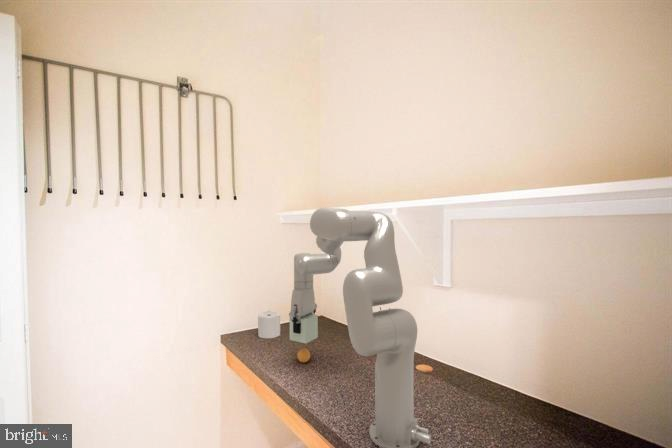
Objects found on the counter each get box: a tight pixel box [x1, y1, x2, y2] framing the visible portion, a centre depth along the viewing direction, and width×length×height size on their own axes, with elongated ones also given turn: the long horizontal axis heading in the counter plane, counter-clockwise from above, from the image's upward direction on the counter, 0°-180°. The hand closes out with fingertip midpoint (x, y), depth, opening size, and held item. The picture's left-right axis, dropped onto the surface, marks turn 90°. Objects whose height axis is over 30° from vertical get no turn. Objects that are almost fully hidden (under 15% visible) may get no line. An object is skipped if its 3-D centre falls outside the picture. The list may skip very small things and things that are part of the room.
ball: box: [297, 348, 311, 363], centre depth 127 cm, size 5×5×5 cm
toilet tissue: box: [257, 310, 281, 339], centre depth 160 cm, size 11×12×10 cm
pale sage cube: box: [289, 314, 319, 344], centre depth 127 cm, size 8×8×9 cm
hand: (303, 329), depth 127 cm, fingers closed on pale sage cube, 7 cm apart
